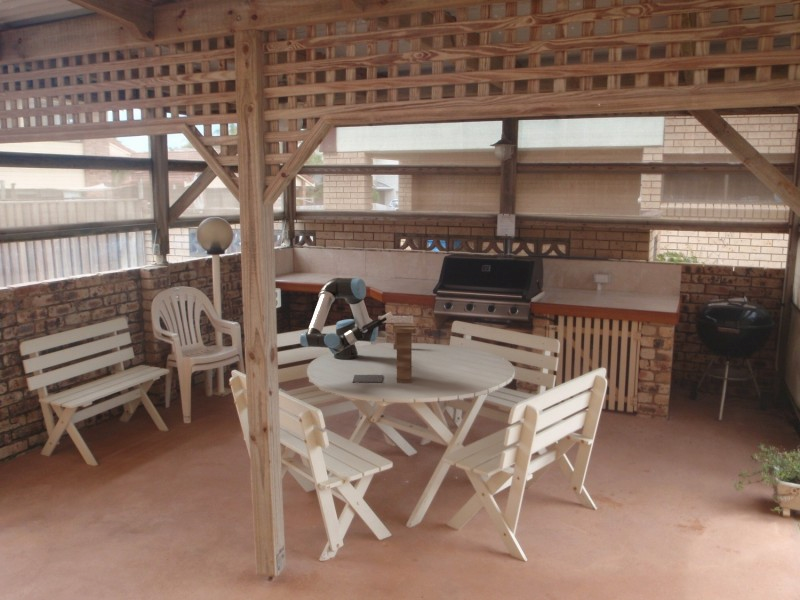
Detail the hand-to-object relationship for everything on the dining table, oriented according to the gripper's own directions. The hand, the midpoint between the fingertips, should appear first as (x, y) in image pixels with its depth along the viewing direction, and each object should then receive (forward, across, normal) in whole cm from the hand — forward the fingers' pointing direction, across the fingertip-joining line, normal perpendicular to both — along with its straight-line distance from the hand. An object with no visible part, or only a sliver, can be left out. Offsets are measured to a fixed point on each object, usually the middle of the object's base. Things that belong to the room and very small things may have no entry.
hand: (391, 314), depth 375 cm
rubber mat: (-30, 0, -25) cm, 39 cm away
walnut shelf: (-12, 0, -35) cm, 37 cm away
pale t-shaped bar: (0, 0, -5) cm, 5 cm away
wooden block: (-14, -74, -34) cm, 83 cm away
